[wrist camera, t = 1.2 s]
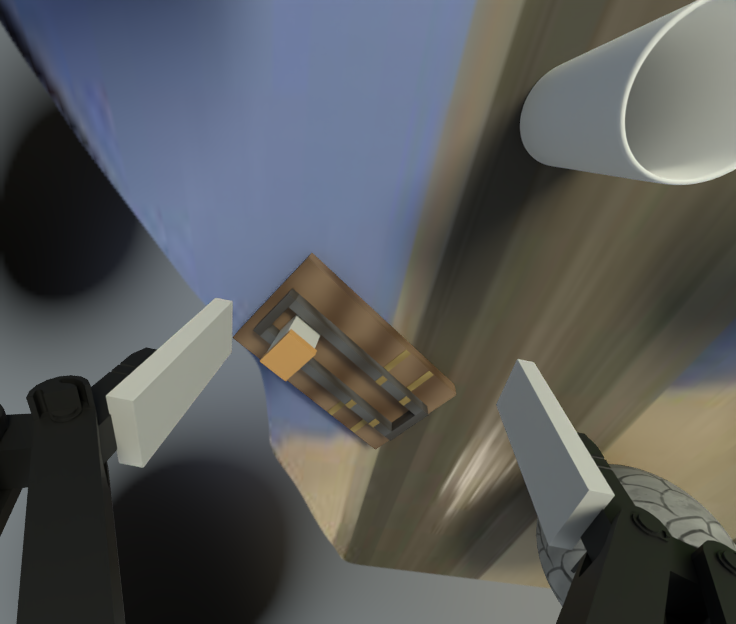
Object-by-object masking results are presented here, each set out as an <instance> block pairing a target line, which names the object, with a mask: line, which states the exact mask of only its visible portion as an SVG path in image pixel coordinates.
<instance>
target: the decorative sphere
mask: <svg viewBox="0 0 736 624" xmlns="http://www.w3.org/2000/svg"><path fill="white" fill-rule="evenodd" d="M609 466H610V467H611V470H613V472H614V473H615V475H616V477H617V478H618V480H619V481H620V483H621V484H622V486H623V487H624V489H625V490H626V492H627V494H628V495H629V497H630V498H631V500H632V501H633V503H634V504H635V506H638V507H641V508H643V509H644V510H646V511H648V512H650V513H651V514H652V515H654V516H655V517H656V518H658V519H659V520H660V521H661V522H662V523H663V525H664V526H665V527H666V528H667V529H668V531H669V533H670V534H671V536H672V537H674V538H677V539H679V540H681V541H683V542H685V543H688V544H690V545H692V546H694V547H696V548H699V547H700V546H701V545H702V544H703V543H704V542H705V541H707V540H714V541H717V542H720V543H722V544H725V545H726V546H728V547H730V548H731V549H733V550H735V551H736V545H735V544H734V542H733V541H732V539H731V537H730V536H729V535H728V533H727V532H726V531H725V529H724V528H723V527H722V525H721V524H720V523H719V522H718V521H717V520H716V519H715V517H714V516H713V515H712V514H711V513H710V512H709V511H708V510H707V509H706V508H705V507H704V506H702V505H701V504H700V503H699V502H698V501H697V500H695V499H694V498H693V497H692V496H690V495H689V494H688V493H686V492H685V491H683V490H682V489H680V488H679V487H677V486H676V485H674V484H672V483H671V482H669V481H667V480H665V479H663V478H661V477H659V476H657V475H654V474H652V473H649V472H647V471H644V470H641V469H637V468H634V467H629V466H624V465H616V464H609ZM536 536H537V548H538V553H539V557H540V561H541V565H542V568H543V571H544V573H545V576H546V578H547V581H548V583H549V585H550V587H551V589H552V591H553V592H554V594H555V596H556V597H557V599H558V601H559V602H560V604H561V605H562V607H563V604H564V601H565V599H566V596H567V594H568V591H569V588H570V586H571V583H572V580H573V578H574V575H575V573H576V572H575V573H572V572H571V569H572V568H573V567H574V566H575V564H576V563H577V562H578V561H579V560H580V558H581V557H582V556H583V555H584V554H585V552H586V549H585V547H584V545H583V542H582V540H581V539H580V540H579V541H578V543H577V544H576V545H575V546H574V548H573V549H572V550H569V549H564V548H559V547H554V546H549V545H548V542H547V540H546V537H545V534H544V532H543V529H542V526H541V524H540V521H539V518H538V519H537V529H536Z"/></svg>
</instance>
